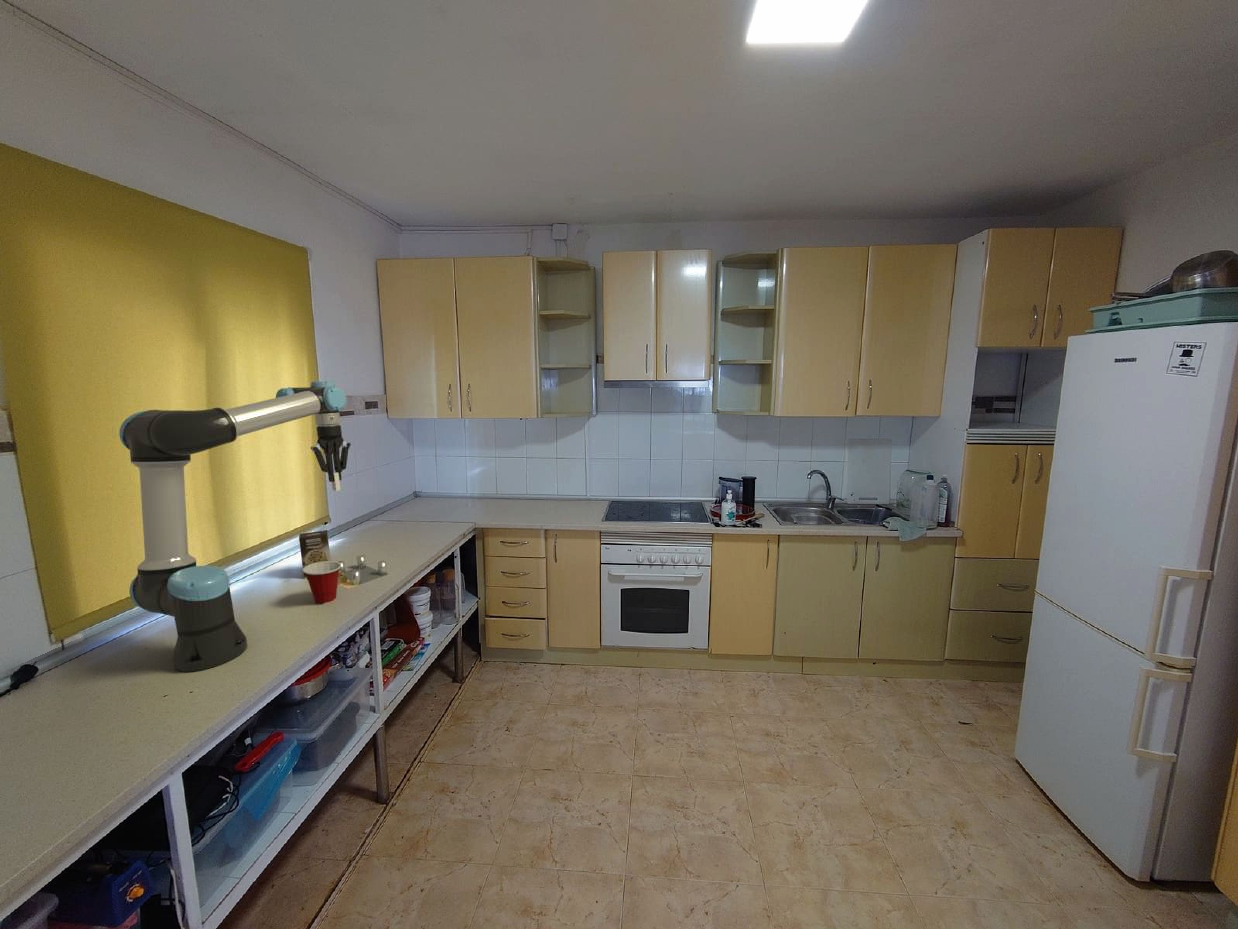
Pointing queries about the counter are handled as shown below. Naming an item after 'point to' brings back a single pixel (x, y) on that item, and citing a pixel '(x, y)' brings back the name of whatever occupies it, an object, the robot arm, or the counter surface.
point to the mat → (366, 576)
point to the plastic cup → (323, 580)
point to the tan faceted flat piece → (342, 578)
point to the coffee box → (314, 548)
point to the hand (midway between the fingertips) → (336, 490)
